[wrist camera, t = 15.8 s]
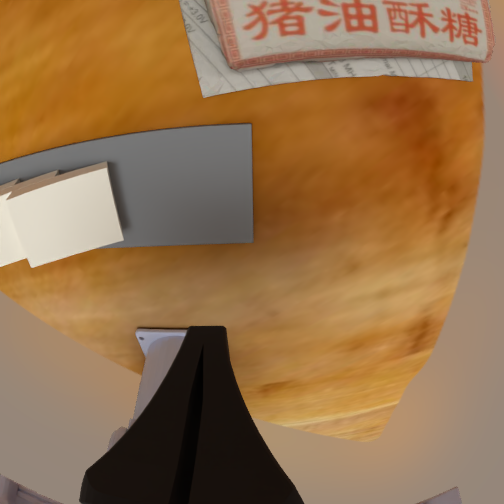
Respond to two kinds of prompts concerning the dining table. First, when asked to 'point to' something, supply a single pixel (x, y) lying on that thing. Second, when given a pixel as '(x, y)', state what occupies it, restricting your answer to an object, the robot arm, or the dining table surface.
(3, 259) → the domino
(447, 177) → the dining table surface
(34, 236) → the domino
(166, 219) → the mat
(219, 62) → the packaged product
